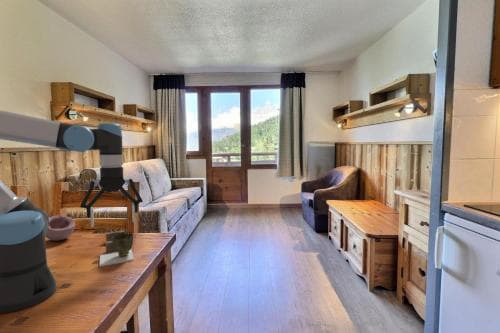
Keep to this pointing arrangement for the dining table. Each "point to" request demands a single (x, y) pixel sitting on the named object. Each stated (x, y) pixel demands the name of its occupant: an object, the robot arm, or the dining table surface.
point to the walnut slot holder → (109, 241)
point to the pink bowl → (60, 227)
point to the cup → (123, 243)
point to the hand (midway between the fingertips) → (113, 223)
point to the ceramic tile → (114, 258)
